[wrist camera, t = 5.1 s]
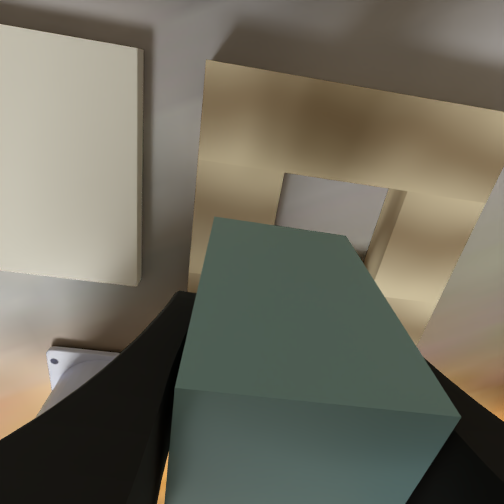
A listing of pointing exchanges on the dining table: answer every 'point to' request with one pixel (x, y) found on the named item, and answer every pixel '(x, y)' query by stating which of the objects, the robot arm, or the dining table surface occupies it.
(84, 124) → the cream plate
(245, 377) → the teal block
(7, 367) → the dining table surface
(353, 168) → the pocket holder
